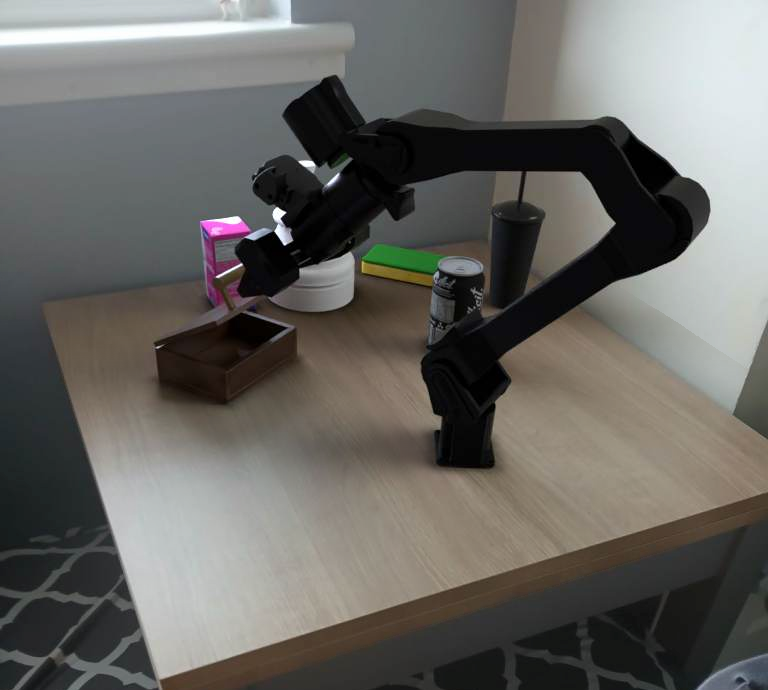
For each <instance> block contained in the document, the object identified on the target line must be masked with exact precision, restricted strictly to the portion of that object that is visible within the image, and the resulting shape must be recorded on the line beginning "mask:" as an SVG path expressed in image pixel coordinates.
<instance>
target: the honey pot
mask: <svg viewBox="0 0 768 690" xmlns="http://www.w3.org/2000/svg"><path fill="white" fill-rule="evenodd" d="M298 162H299V163H301V164H302V165H303V166H304V167H306V168H307V169H308V170H309V171H311V172H312V173H313V174H314V173H315V171H316V168H317V166H315V164H314V163H313V161H312V160H299V161H298ZM285 213H286V212H284V211H282V210H280V209H279V208H278V207H276V208H275V209H273V212H272V217H273V220H274V222H275V223H277V226H276V228H275V230H274V231H275V233H276V234H277V235H278V237H279V238H280V240H281V241H282V243H283V244H284V245H286V244H288V243H290V242H292V241H293V239H292V236H291V233H290V231H291V229H290V227H289V228H286V226H285V225H284V224H283V222H282V221H281V219H280V218H281V217H282V216H283V215H284V214H285ZM355 262H356V261H355V257H354V255H353V253H352V251H350V252H349V253H347V254H345V255H343V256H342V257H340V258H336V259H333V260H329V261H325V262H322V263H320V264H318V265H316V264H315V265H311V266H308V267H304V268H301V269H299V272H300V278H299V279H298V280H297V281H296V282H295V283H294V284H292V285H291V286H289V287H288V288H287V289H285V290H284V291H282V292H280V293H279V294H277V295H275V296H273V297H272V298H270V297H267V298H268V299H269V300H270V301H271V302H272V303H274V304H275V305H277V306H279V307H282V308H284V309H287V310H292V311H297V312H304V313H307V312H308V313H319V312H327V311H334V310H337V309H340V308H342V307H345V306H346V305H348V304H350V302H351V301H352V300H353V299H354V295H355V294H354V293H355Z"/></svg>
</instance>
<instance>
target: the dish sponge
mask: <svg viewBox="0 0 768 690" xmlns="http://www.w3.org/2000/svg"><path fill="white" fill-rule="evenodd" d="M446 257H447V256H446V255H440V254H435V253H430V252H424V251H420V250H414V249H409V248H404V247H398V246H394V245H393V246H392V245H388V244H382V243H376V244H375V245H374V246H373V247H372V248H371V249H370V250H369V251H368V252H367V253H366V254H365V255H364V256H363V257H362V258H361V273H362V274H366V275H372V276H377V277H380V278H381V277H382V278H387V279H392V280H397V281H402V282H407V283H412V284H418V285H422V286H428V287H433V276H434V272H435V271H436V269H437V268H438V262H439V261H440V260H441V259H443V258H446Z"/></svg>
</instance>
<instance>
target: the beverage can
mask: <svg viewBox="0 0 768 690" xmlns="http://www.w3.org/2000/svg"><path fill="white" fill-rule="evenodd" d="M485 284H486V276H485V274H484V265H483V264H482V263H481V262H480V261H479V260H477V259H475V258H472V257H467V256H461V255H460V256H459V255H453V256H446V258H443V259H441V260H440V261H439V262H438V268H437V269H436V271H435V272H434V276H433V287H432V286H431V287H432V289H431V298H430V299H431V300H430V311H429V321H428V330H427V343H426V345H428V344H429V343H430V342H431V341H433V340H434V339H435V338H436V337H437V336H439V335H440V334H441V333H442V332H444V331H445V330H446V329H447V328H448V327H450V326H451V325H452V324H453V323H456V322H459V321H460V320H462V319H463V318H464V317H465V316H466V315H468V314H469V313H470V312H471V311H472V310H474V309H475V308H476V307H478V308H479V310H480V312H481V313H482V308H483V307H482V306H483V300H484V293H485V286H486V285H485Z"/></svg>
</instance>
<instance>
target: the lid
mask: <svg viewBox="0 0 768 690" xmlns="http://www.w3.org/2000/svg"><path fill="white" fill-rule="evenodd" d="M244 271H245V267H244V266H243V265H242V263H241V264H239V265H237V266H235V267H233V268H231V269H230V270H228V271H226V272H224V273H222V274H220V275H218V276H216V277H214V278H213V279H212V285H213V287H214V288H215V289H216V290H218V291H220V293H221V295H222V297H223V299H224V301H225V303H223V304H221V305H219V306H217V307H216V308H215V307H214V308H212V309H210V310H208V311H207V312H204V313H203V314H201V315H199V316H198V317H196V318H194V319H192V320H190V321H188V322H187V323H185V324H183V325H182V326H179V327H177V328H176V329H174V330H172V331H171V332H169V333H167V334H165V335H163V336H162V337H160V338H158V339H156V340H155V341H153V345H154V346H155V348H156V347H159V346H162V345H165V344H167V343H170V342H173V341H176V340H179V339H182V338H185V337H188V336H191V335H194V334H196V333H199V332H202V331H205V330H208V329H211V328H214V327H217V326H219V325H221V324H222V323H224V322H226V321H228V320H229V319H231V318H233V317H235V316H236V315H238V314H240V313H241V312H243V311H245V310H246V311H248V310H247V309H248V308H250V307H252V306H253V305H255V304H256V305H257V304H258V303H260V302H263V301H264V300H265V299H267V298H268V296H265V295H262V296H254V297H247V298H242V297H241V296H239V297H236V298H233V299H232V298H231V295H230V293H229V291H228V289H227V287H228V286H230V285H232V284H234V283H236V282H237V281H239V280H241V278H242V276H243V273H244Z"/></svg>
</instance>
